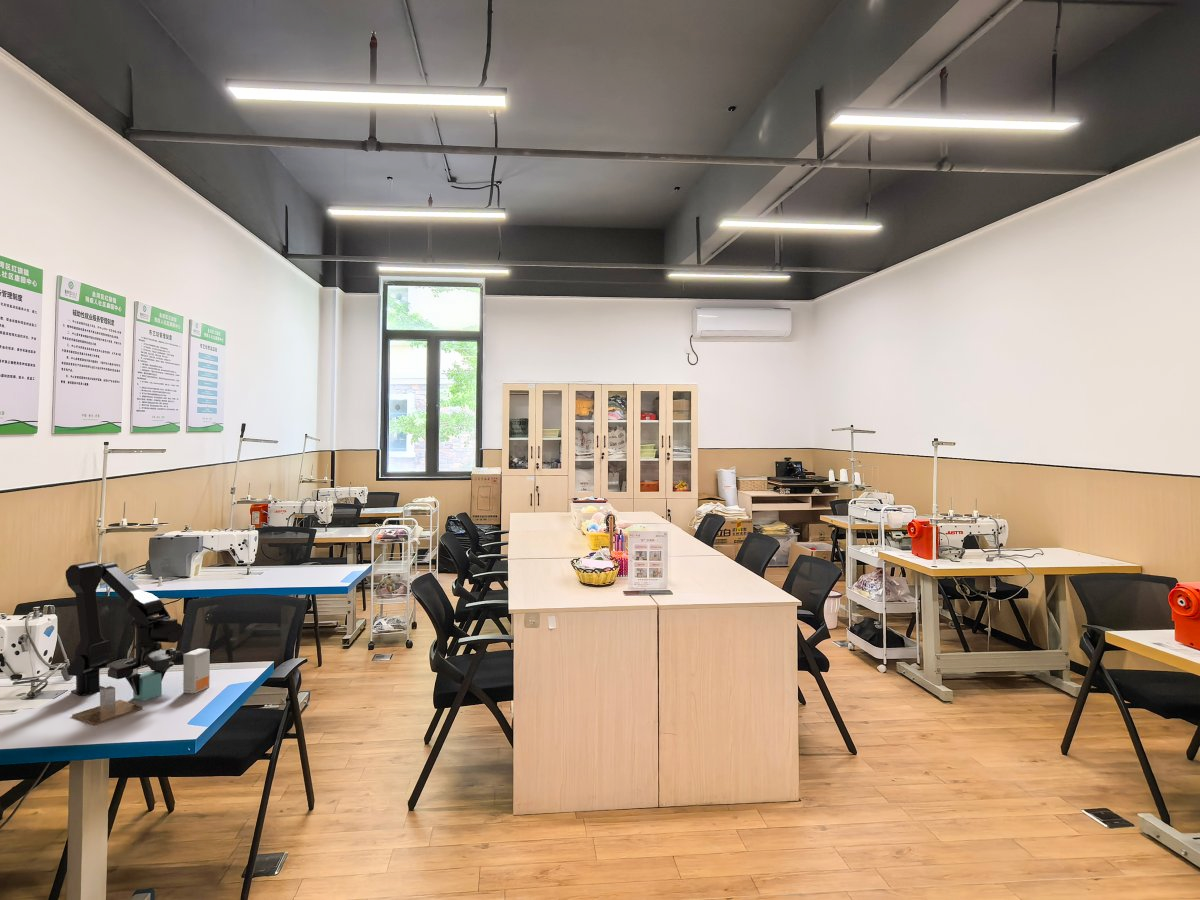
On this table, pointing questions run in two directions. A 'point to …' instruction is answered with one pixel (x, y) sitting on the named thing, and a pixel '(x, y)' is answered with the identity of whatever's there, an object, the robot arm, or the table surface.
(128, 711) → the brown square base plate
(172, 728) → the table surface
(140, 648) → the robot arm
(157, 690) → the teal rectangular block
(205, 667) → the skincare box
